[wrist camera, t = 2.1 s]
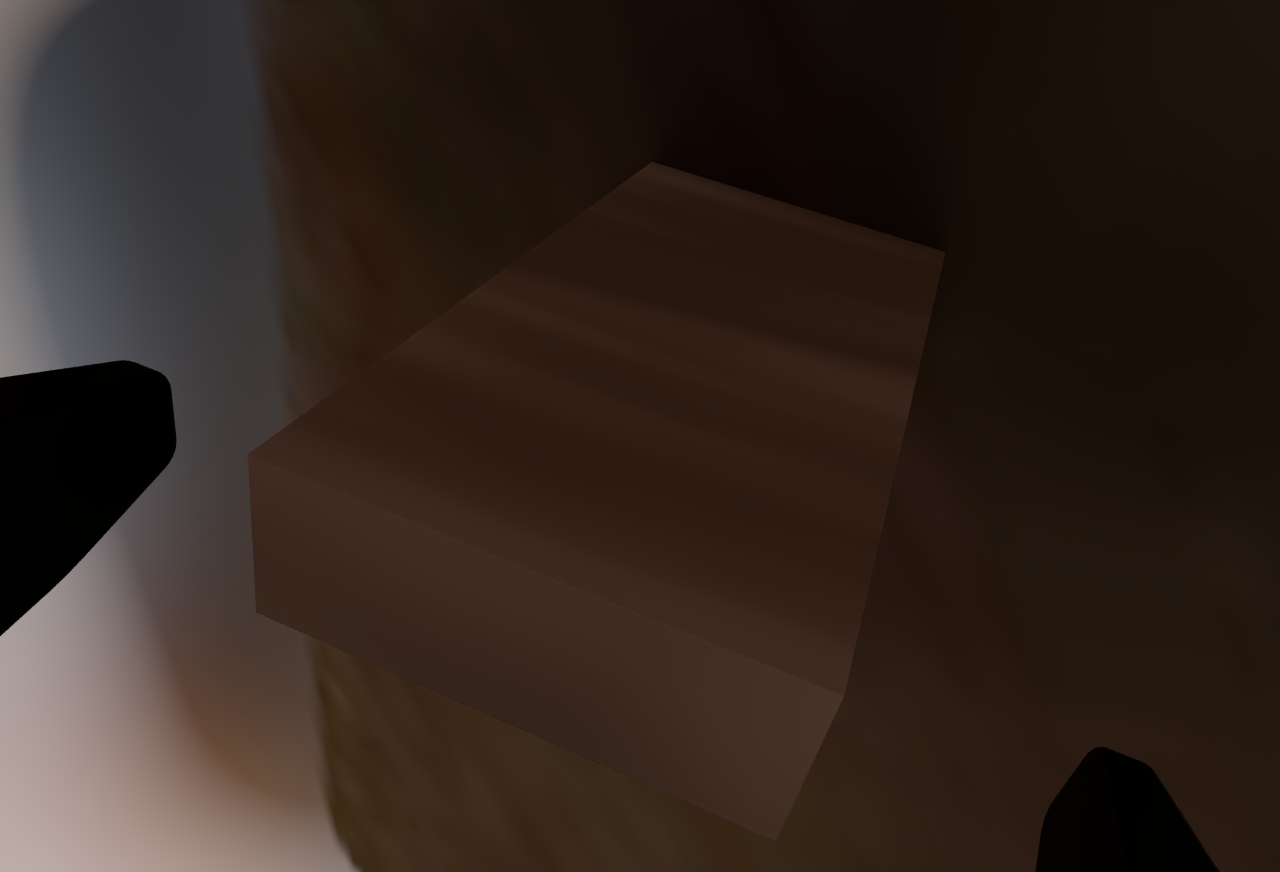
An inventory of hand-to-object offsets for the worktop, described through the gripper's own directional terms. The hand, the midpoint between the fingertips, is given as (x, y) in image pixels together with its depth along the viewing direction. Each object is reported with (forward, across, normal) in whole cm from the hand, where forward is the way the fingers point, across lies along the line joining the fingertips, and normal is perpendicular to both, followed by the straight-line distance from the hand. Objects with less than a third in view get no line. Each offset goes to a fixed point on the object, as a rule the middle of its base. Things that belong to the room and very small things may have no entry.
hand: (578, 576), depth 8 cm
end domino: (+9, 0, 0) cm, 9 cm away
